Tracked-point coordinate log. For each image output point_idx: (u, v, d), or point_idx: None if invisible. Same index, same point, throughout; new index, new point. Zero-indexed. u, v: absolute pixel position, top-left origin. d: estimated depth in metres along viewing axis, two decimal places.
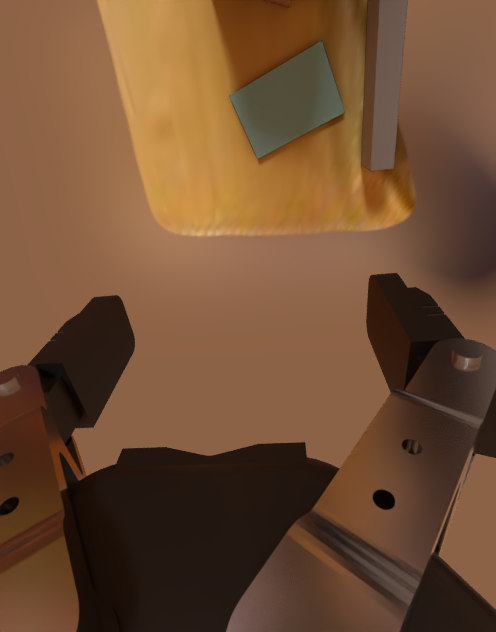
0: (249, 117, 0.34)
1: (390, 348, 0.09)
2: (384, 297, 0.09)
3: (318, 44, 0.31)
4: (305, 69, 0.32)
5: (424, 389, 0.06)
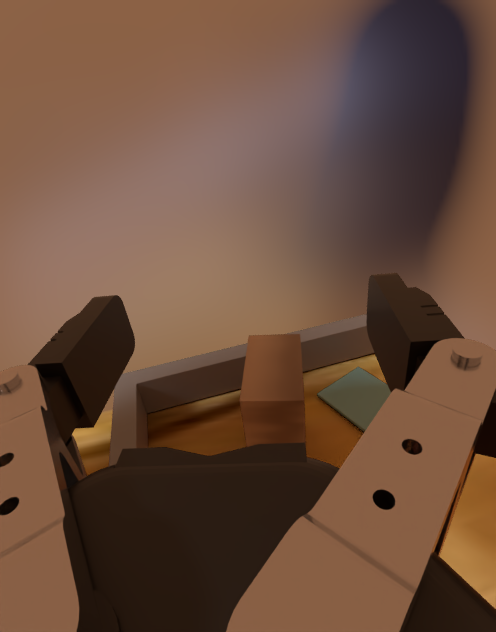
0: None
1: (390, 347, 0.09)
2: (384, 297, 0.09)
3: (320, 394, 0.35)
4: (341, 398, 0.35)
5: (424, 389, 0.06)
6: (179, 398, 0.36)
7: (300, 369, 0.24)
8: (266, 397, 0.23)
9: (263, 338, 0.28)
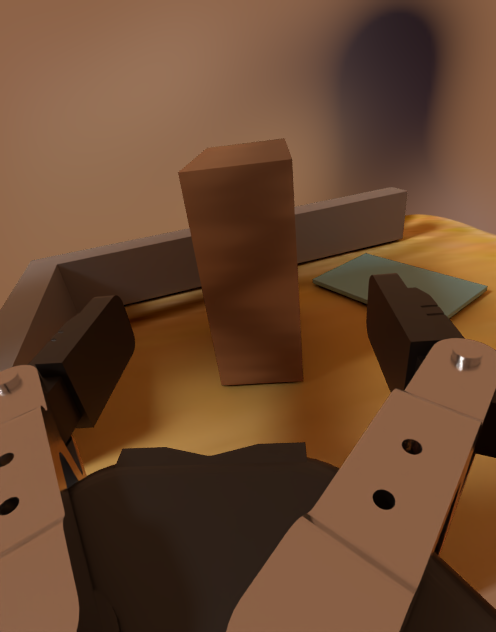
0: (441, 303, 0.21)
1: (390, 348, 0.09)
2: (384, 297, 0.09)
3: (317, 279, 0.26)
4: (347, 280, 0.25)
5: (424, 389, 0.06)
6: (123, 294, 0.26)
7: (285, 148, 0.15)
8: (225, 165, 0.13)
9: (227, 146, 0.18)
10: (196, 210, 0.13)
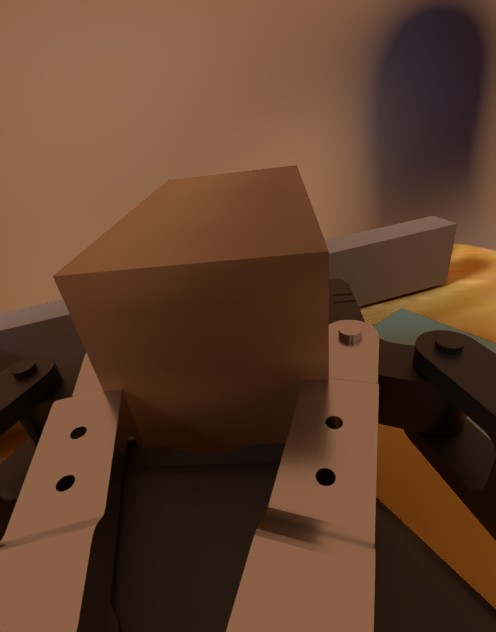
0: None
1: None
2: None
3: None
4: None
5: None
6: None
7: (303, 199, 0.07)
8: (167, 257, 0.05)
9: (201, 179, 0.11)
10: (108, 348, 0.06)
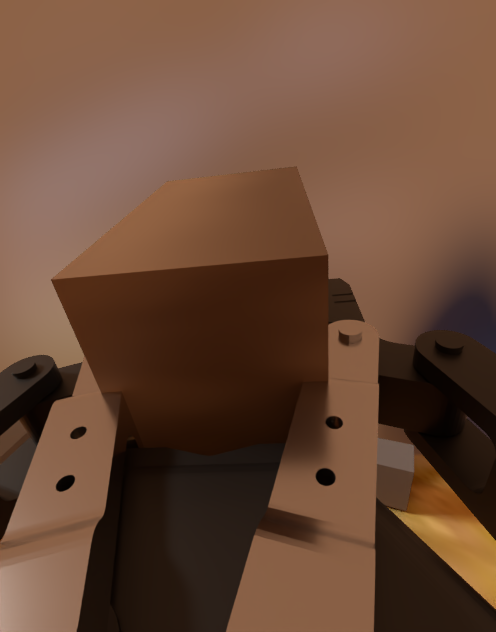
0: None
1: None
2: None
3: None
4: None
5: None
6: None
7: (302, 201, 0.07)
8: (166, 261, 0.05)
9: (200, 180, 0.11)
10: (106, 352, 0.06)
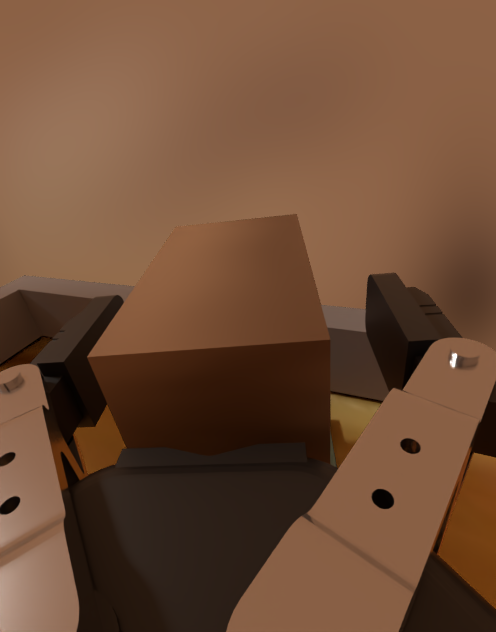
0: None
1: (388, 347, 0.09)
2: (382, 297, 0.09)
3: None
4: None
5: (422, 388, 0.06)
6: None
7: (304, 266, 0.08)
8: (187, 338, 0.06)
9: (207, 227, 0.11)
10: (133, 413, 0.07)
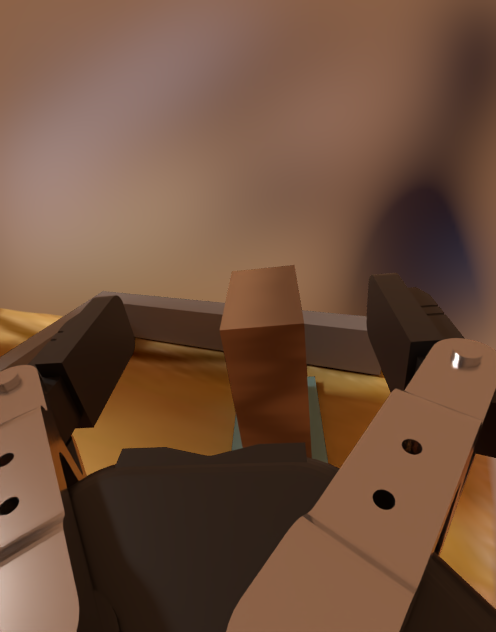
0: None
1: (390, 348, 0.09)
2: (384, 297, 0.09)
3: None
4: None
5: (424, 389, 0.06)
6: (138, 331, 0.37)
7: (297, 295, 0.19)
8: (254, 323, 0.17)
9: (249, 272, 0.23)
10: (231, 352, 0.18)
